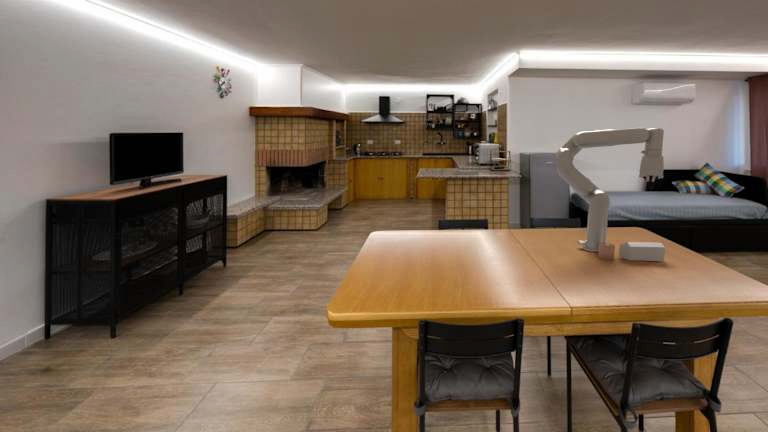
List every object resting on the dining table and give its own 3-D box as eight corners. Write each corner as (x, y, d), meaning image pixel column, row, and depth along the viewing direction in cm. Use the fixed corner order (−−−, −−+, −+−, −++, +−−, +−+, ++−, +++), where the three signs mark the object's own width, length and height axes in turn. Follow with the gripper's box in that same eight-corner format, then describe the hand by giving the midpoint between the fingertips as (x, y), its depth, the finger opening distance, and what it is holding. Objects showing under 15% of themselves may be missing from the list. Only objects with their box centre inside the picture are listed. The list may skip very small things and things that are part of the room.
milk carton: (665, 247, 213) (621, 246, 218) (664, 261, 215) (620, 260, 220) (661, 242, 219) (618, 241, 225) (659, 256, 221) (617, 255, 227)
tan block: (596, 258, 223) (597, 244, 222) (599, 255, 228) (600, 242, 227) (612, 260, 219) (613, 246, 218) (615, 257, 224) (616, 244, 223)
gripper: (635, 153, 228) (632, 189, 231) (669, 153, 219) (666, 190, 222) (637, 152, 234) (634, 188, 237) (671, 153, 225) (667, 189, 228)
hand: (649, 189), depth 229 cm, fingers closed
